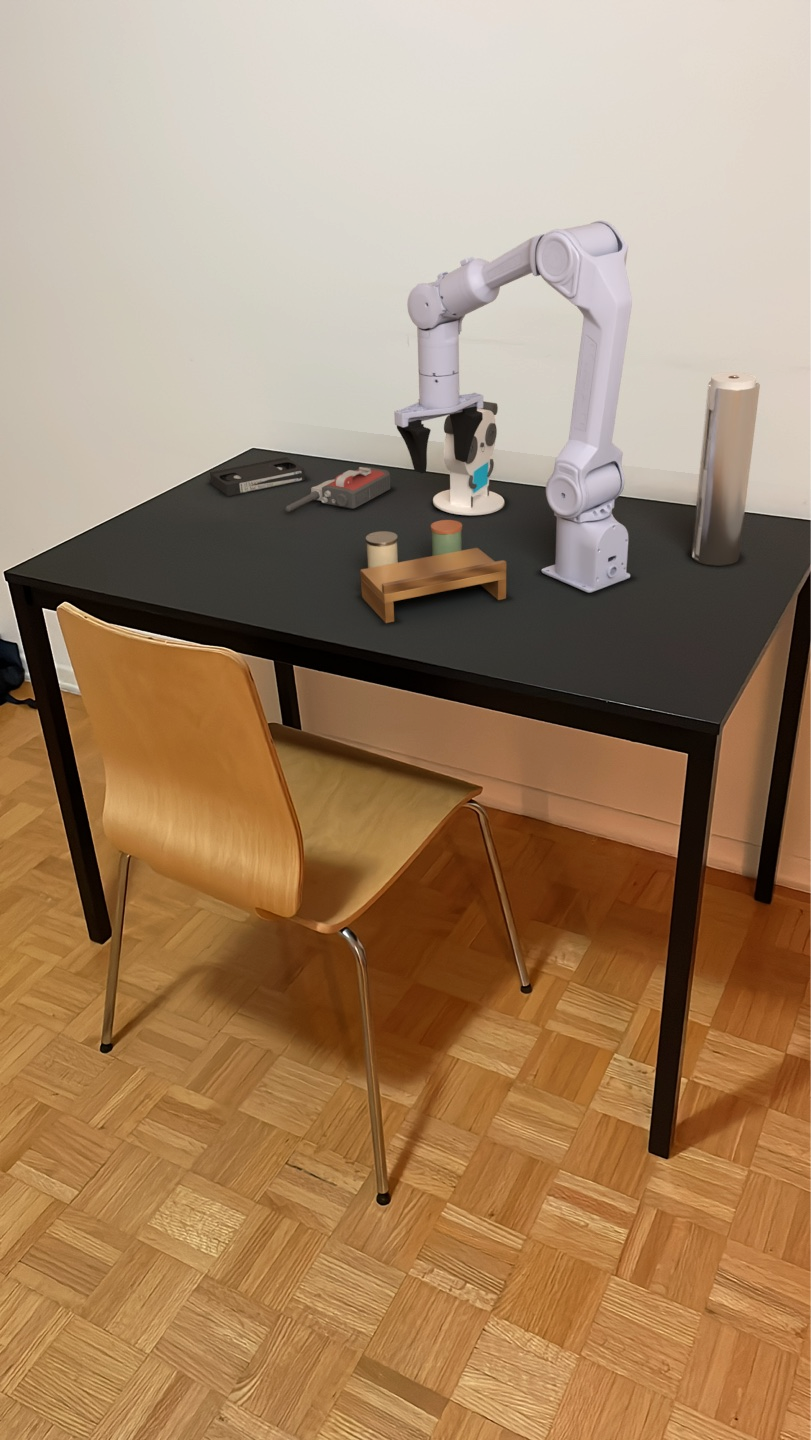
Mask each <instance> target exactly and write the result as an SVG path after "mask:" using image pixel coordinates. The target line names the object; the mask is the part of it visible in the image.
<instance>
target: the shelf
mask: <svg viewBox="0 0 811 1440" xmlns="http://www.w3.org/2000/svg"><path fill="white" fill-rule="evenodd" d="M359 571H360V587H361V588H360V589H361V590H360V591H361V598H362V600H364V601H365V602H366V604H367V605H368V606H369V607H370V608H371V609H372V610H373V611H374V612H375V613H376V614H377V615H378V616H379V618H380V619H381V620H382V621H383V623H385V624H389V623H395V606H394V605H395V604H394V603H395V602H398V601H402V600H407V599H413V598H417V597H422V596H428V595H433V594H438V593H442V592H447V591H453V590H457V589H462V588H467V587H474V586H478V585H480V586H481V587H482V588H483V589H484V590H485V591H486V592H488V594H490V595H491V596H492V597H494V598H495V599H496V600H497V601H501V600H505V599H507V561H506V560H505V559H502V560H497V561H495V560H493V558H491V557H490V556H488V555H487V554H486V553H485V552H483V551H482V550H481V549H480V548H478V547H473V548H468V549H462V551H457V552H451V553H446V554H441V555H435V556H432V555H431V556H424V557H420V558H415V559H409V560H404V561H398V563H393V564H388V565H382V566H377V567H372V568H368V567H367V568H361V569H359Z"/></svg>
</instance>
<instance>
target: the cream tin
mask: <svg viewBox="0 0 811 1440" xmlns="http://www.w3.org/2000/svg"><path fill="white" fill-rule="evenodd" d="M398 540H399V538H398V534H396V533H395V532H392V531H386V530H384V531H383V530H382V531H381V530H379V531H375V532H374V531H373V532H371V533H368V534H367V535H366V536H365V542H366V543H365V544H366V553H367V554H366V555H367V556H366V557H367V568H372V567H377V566H382V565H388V564H393V563H398V562H399V554H398Z"/></svg>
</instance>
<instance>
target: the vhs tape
mask: <svg viewBox="0 0 811 1440" xmlns="http://www.w3.org/2000/svg"><path fill="white" fill-rule="evenodd" d="M305 476H306V475H305V468H304V467H302V466H301V465H299V464H297V463H296V462H294V461H293V460H291V459H290V458H289V457H286V456H285V457H279V458H275V459H270V460H266V461H261V462H260V461H259V462H254V463H251V464H245V465H239V466H235V467H230V468H225V469H219V470H214V471H210V472H209V477H210V484H211V485H213V486H214V487H215V488H216V489H218V490H219V491H220V492H222V493H223V494H224V495H226V496H227V497H231V496H236V495H241V494H245V493H251V492H255V491H260V490H265V489H270V488H274V487H278V486H285V485H289V484H293V483H298V482H303V481H305V480H306V477H305Z"/></svg>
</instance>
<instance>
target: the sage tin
mask: <svg viewBox="0 0 811 1440" xmlns="http://www.w3.org/2000/svg"><path fill="white" fill-rule="evenodd" d="M430 531H431V556H435V555H441V554H446V553H451V552H457V551H462V550H463V543H462V542H463V539H462V538H463V536H462V534H463V533H462V531H463V523H462V522H460V521H459V520H454V519H441V520H437V521H434V522H432V523H431V524H430Z"/></svg>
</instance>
